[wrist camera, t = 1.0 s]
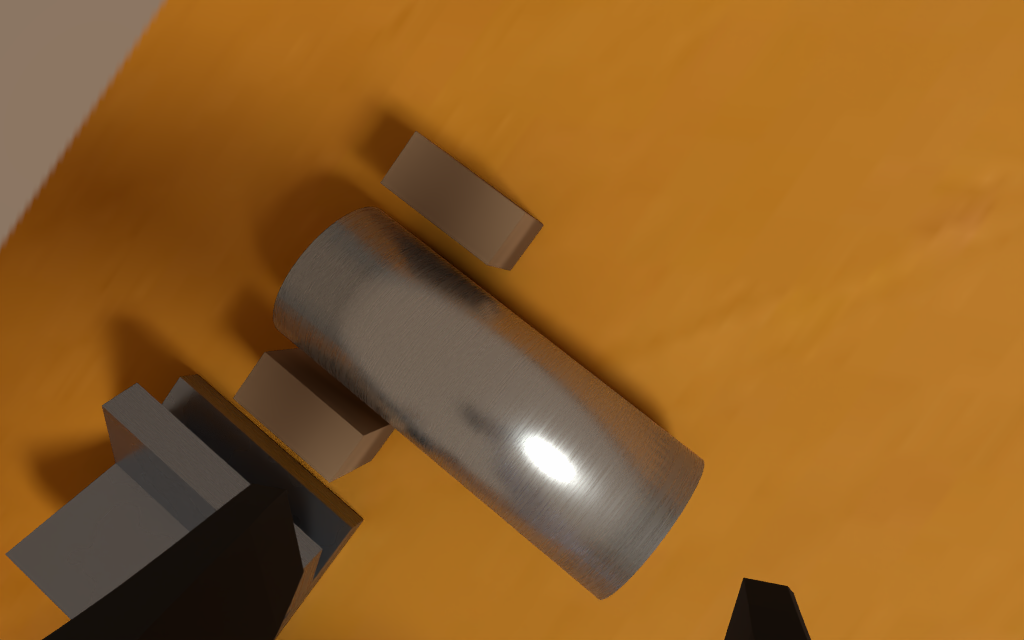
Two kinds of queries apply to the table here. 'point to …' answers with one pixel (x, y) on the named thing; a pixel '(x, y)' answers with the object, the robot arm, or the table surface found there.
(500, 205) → the blocks
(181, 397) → the v block
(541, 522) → the axle
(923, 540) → the table surface
